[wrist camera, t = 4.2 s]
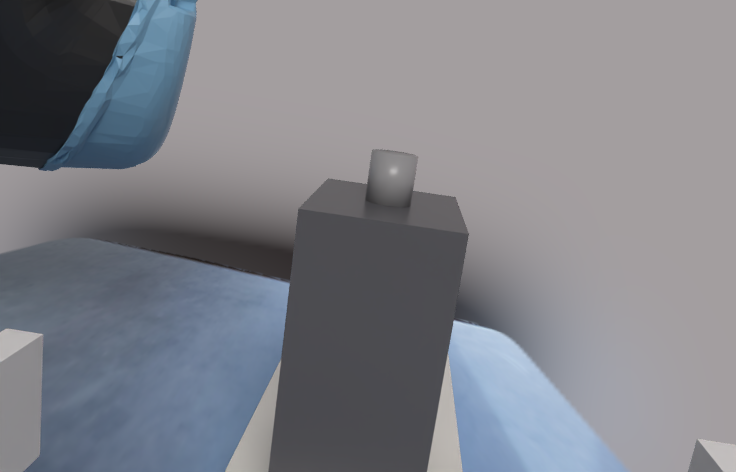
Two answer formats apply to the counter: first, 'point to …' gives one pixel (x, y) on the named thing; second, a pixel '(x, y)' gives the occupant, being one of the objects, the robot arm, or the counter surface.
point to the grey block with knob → (367, 323)
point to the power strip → (255, 444)
